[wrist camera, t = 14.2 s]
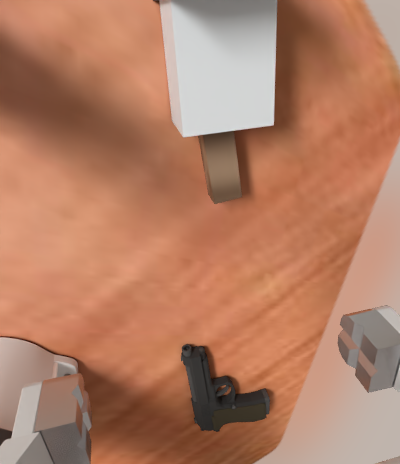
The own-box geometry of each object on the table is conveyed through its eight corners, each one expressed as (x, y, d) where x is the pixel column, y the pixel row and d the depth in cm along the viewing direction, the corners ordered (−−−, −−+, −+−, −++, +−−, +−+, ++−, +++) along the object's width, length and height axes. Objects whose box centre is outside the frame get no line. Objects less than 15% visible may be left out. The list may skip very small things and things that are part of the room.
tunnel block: (250, 111, 38) (273, 125, 33) (172, 120, 37) (183, 137, 32) (250, -7, 33) (277, -12, 28) (159, 0, 32) (170, -4, 27)
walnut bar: (233, 186, 42) (242, 196, 40) (207, 192, 42) (214, 204, 39) (215, 49, 35) (223, 51, 33) (183, 56, 35) (190, 59, 32)
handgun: (266, 333, 52) (180, 357, 50) (271, 419, 61) (199, 441, 59) (259, 320, 54) (177, 342, 52) (264, 404, 63) (195, 425, 62)
